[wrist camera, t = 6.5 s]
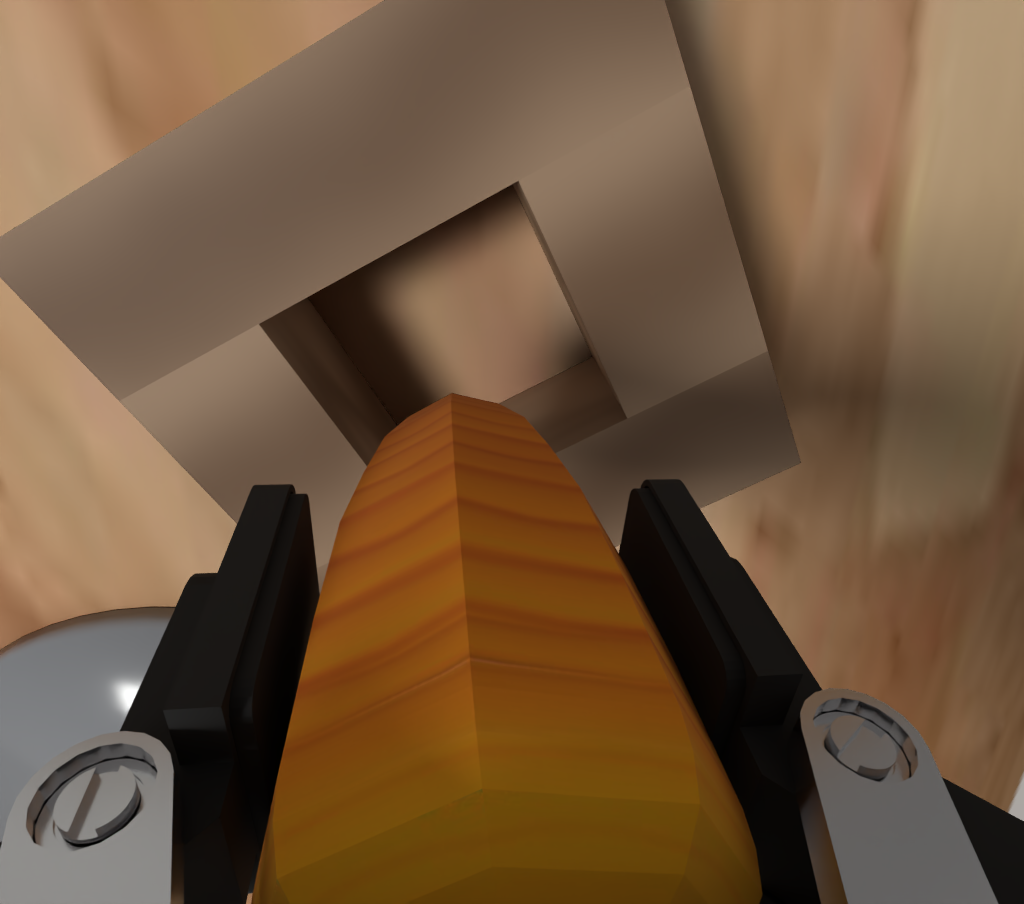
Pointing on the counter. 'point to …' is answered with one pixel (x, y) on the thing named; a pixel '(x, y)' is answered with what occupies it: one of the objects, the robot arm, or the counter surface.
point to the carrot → (492, 700)
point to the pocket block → (402, 217)
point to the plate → (69, 688)
